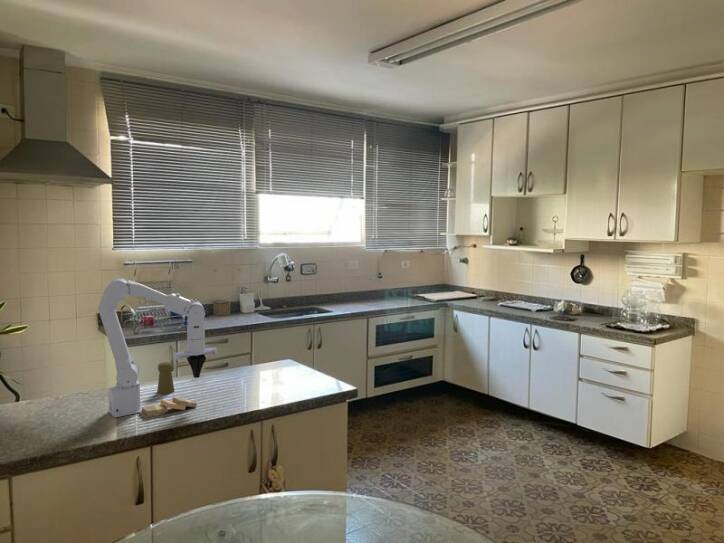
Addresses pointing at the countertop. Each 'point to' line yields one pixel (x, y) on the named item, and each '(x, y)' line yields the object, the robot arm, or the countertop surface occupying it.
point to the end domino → (184, 402)
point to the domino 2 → (172, 405)
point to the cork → (165, 378)
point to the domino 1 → (149, 415)
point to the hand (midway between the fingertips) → (196, 377)
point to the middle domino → (154, 409)
